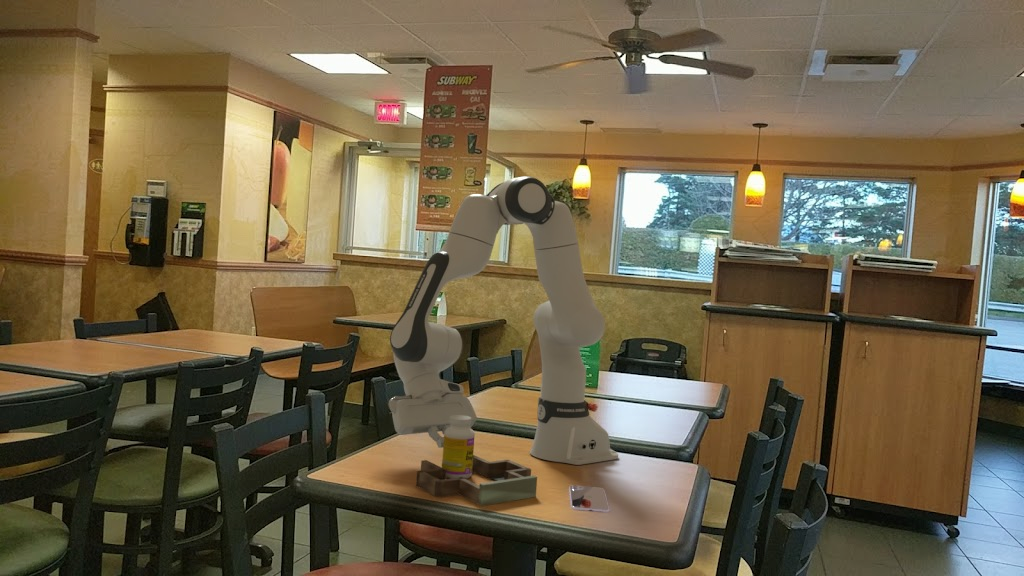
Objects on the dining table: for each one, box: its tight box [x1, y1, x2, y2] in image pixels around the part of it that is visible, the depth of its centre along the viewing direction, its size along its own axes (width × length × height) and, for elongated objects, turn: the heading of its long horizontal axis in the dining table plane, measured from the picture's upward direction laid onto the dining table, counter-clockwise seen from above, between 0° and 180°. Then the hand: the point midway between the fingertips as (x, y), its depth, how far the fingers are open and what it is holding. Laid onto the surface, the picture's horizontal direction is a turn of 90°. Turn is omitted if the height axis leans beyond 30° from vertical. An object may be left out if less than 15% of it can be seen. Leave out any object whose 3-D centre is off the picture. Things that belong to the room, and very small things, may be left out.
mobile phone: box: [568, 484, 610, 513], centre depth 147 cm, size 8×1×15 cm
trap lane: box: [415, 454, 538, 507], centre depth 151 cm, size 23×23×4 cm
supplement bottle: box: [441, 415, 476, 479], centre depth 157 cm, size 7×7×13 cm
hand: (445, 445), depth 161 cm, fingers closed
